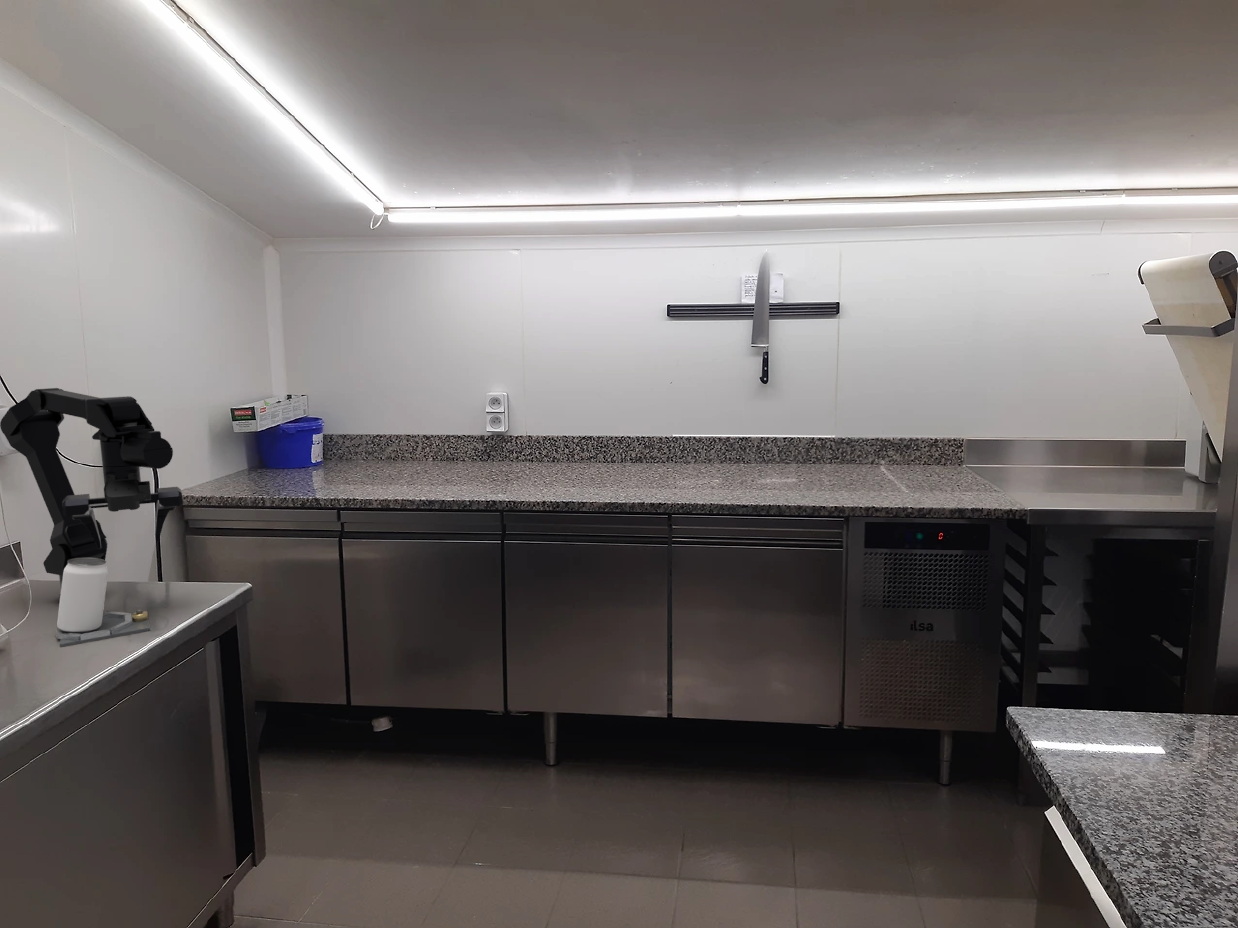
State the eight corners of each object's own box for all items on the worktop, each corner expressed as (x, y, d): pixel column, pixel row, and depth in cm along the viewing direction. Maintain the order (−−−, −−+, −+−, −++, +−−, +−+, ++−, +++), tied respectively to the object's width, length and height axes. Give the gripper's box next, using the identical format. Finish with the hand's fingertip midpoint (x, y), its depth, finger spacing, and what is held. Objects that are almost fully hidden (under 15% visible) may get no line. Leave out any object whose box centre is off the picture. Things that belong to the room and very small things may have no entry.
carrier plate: (61, 628, 134) (61, 625, 134) (146, 613, 142) (146, 610, 142) (60, 647, 126) (59, 644, 126) (150, 630, 134) (149, 627, 134)
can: (75, 635, 128) (83, 567, 127) (47, 627, 130) (55, 560, 129) (110, 627, 134) (118, 562, 134) (83, 619, 136) (90, 555, 135)
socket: (58, 624, 135) (57, 620, 135) (130, 611, 141) (130, 607, 141) (56, 644, 126) (55, 640, 126) (133, 630, 132) (132, 626, 132)
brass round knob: (132, 618, 138) (131, 609, 137) (147, 616, 139) (146, 607, 139) (132, 622, 136) (131, 613, 135) (148, 620, 137) (147, 610, 137)
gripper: (55, 476, 128) (65, 563, 130) (180, 467, 137) (187, 548, 140) (60, 465, 137) (69, 547, 139) (177, 458, 147) (184, 534, 149)
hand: (129, 544), depth 142 cm, fingers open, 9 cm apart
